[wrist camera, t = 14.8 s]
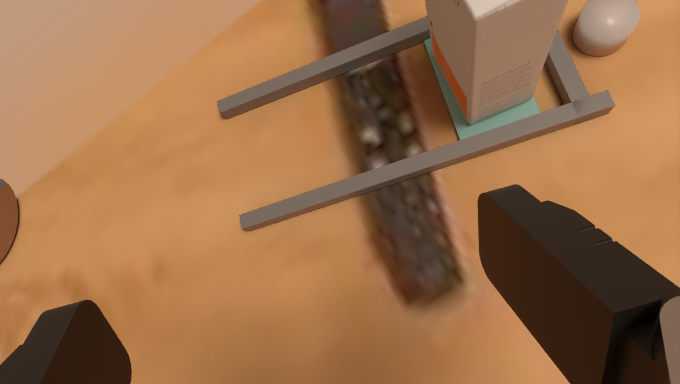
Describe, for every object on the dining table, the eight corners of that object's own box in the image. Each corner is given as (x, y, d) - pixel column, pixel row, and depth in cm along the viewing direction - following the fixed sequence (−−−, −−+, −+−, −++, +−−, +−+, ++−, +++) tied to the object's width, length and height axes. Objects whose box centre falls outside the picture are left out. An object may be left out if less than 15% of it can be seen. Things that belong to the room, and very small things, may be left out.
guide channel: (250, 231, 30) (235, 227, 28) (225, 107, 33) (210, 96, 31) (663, 95, 25) (679, 79, 23) (591, -39, 27) (601, -63, 26)
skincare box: (430, 54, 29) (409, -94, 18) (490, 25, 28) (509, -149, 17) (468, 130, 27) (473, 20, 16) (534, 101, 26) (588, -37, 15)
